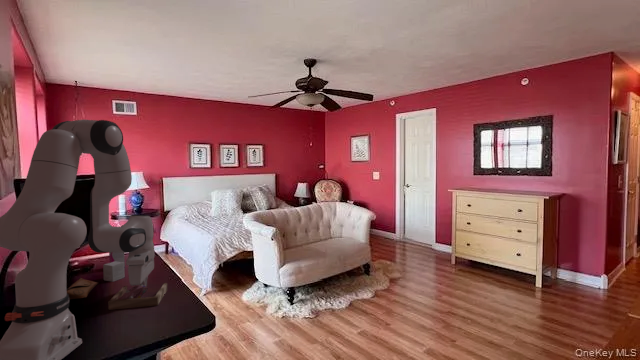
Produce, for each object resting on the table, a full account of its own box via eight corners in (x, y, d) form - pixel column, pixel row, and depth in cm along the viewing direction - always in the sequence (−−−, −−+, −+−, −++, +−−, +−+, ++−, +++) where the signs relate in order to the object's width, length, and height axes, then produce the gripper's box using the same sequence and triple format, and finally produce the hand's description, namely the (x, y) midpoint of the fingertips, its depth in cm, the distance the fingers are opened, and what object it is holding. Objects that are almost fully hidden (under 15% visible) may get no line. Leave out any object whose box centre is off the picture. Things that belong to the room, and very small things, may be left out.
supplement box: (122, 265, 173) (121, 243, 172) (125, 268, 168) (124, 245, 168) (109, 267, 169) (108, 245, 168) (111, 270, 164) (111, 247, 164)
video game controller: (123, 310, 122) (128, 295, 120) (115, 303, 123) (120, 288, 122) (146, 299, 131) (151, 285, 130) (138, 293, 132) (143, 279, 131)
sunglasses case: (87, 297, 131) (76, 284, 129) (69, 308, 129) (58, 295, 127) (99, 282, 148) (90, 270, 146) (84, 292, 146) (74, 280, 144)
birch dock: (157, 305, 123) (157, 297, 123) (108, 309, 119) (108, 301, 119) (167, 290, 138) (167, 283, 138) (124, 293, 134) (123, 286, 134)
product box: (115, 276, 156) (115, 260, 156) (125, 277, 154) (124, 262, 154) (103, 280, 150) (102, 264, 150) (112, 282, 148) (112, 265, 148)
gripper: (141, 248, 141) (142, 279, 142) (124, 262, 121) (126, 299, 122) (157, 247, 142) (158, 278, 143) (143, 261, 123) (144, 297, 123)
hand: (143, 288), depth 133 cm, fingers closed
